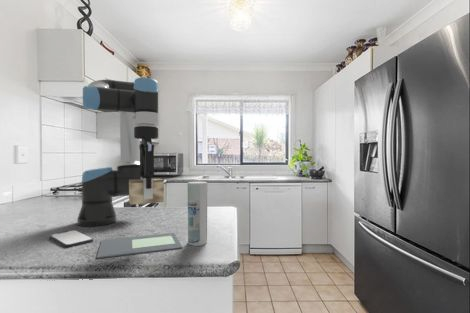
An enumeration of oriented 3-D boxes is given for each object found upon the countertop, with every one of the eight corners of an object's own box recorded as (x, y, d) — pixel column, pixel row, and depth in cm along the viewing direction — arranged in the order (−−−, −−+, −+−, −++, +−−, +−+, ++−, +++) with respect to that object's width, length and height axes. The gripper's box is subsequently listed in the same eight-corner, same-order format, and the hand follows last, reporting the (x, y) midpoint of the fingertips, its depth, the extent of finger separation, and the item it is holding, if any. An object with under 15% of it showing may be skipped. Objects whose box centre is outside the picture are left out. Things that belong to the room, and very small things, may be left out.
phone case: (95, 243, 92) (75, 233, 102) (95, 238, 92) (75, 229, 102) (65, 250, 85) (48, 239, 95) (65, 245, 85) (48, 234, 95)
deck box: (160, 199, 94) (160, 178, 94) (163, 202, 89) (163, 179, 89) (129, 201, 90) (128, 179, 90) (130, 204, 84) (130, 181, 84)
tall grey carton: (183, 242, 91) (183, 182, 90) (198, 238, 95) (198, 181, 95) (196, 247, 86) (196, 183, 86) (211, 242, 91) (211, 182, 91)
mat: (101, 241, 92) (101, 239, 92) (173, 233, 101) (173, 232, 101) (96, 258, 76) (96, 257, 76) (182, 248, 85) (182, 246, 85)
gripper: (131, 128, 96) (131, 194, 96) (137, 122, 79) (138, 202, 79) (153, 129, 100) (153, 193, 99) (164, 123, 83) (164, 200, 82)
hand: (146, 197), depth 89 cm, fingers closed on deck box, 6 cm apart
